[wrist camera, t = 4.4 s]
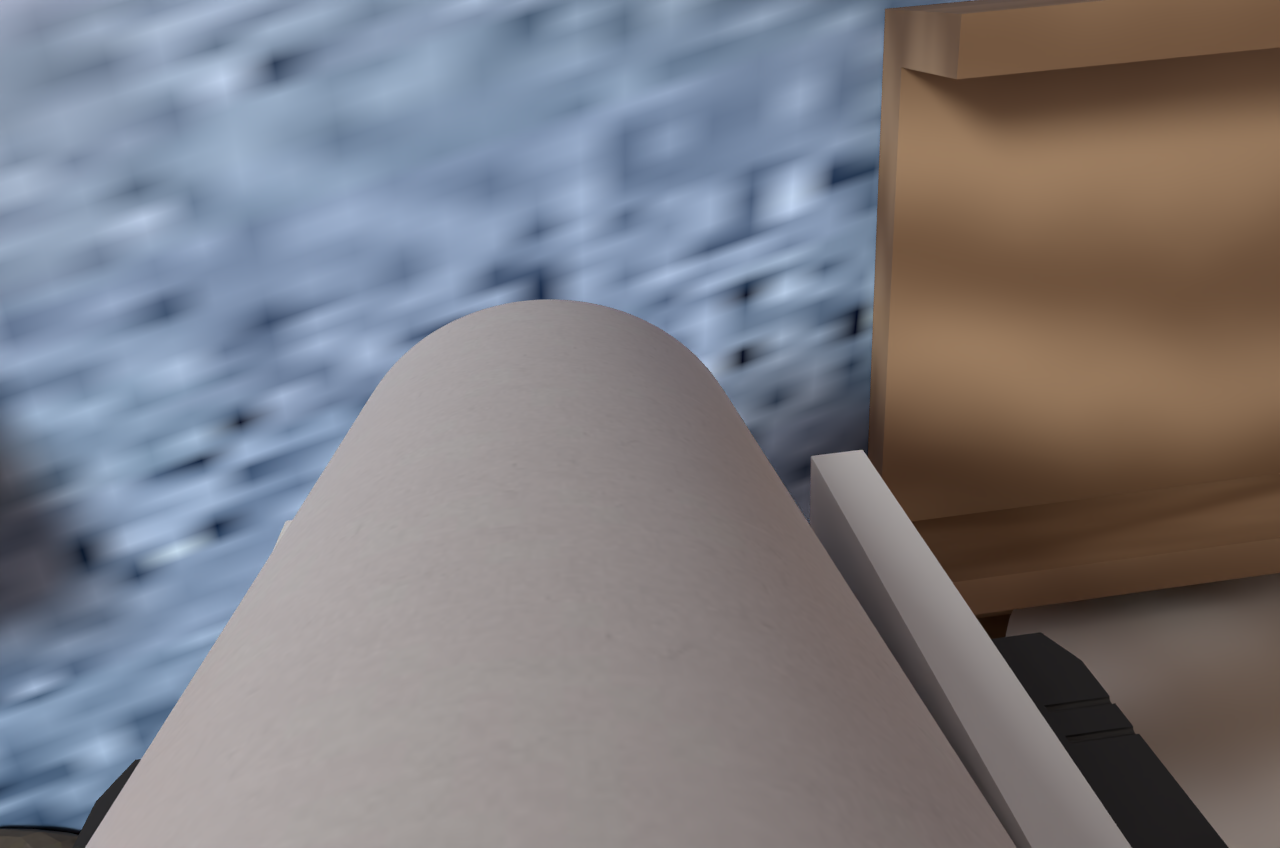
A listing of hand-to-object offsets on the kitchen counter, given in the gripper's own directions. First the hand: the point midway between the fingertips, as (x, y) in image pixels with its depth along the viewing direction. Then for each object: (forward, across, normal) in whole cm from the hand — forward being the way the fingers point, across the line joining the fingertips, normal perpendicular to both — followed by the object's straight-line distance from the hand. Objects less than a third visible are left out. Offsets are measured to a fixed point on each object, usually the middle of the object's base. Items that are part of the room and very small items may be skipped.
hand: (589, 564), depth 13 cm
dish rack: (+12, +16, -7) cm, 21 cm away
